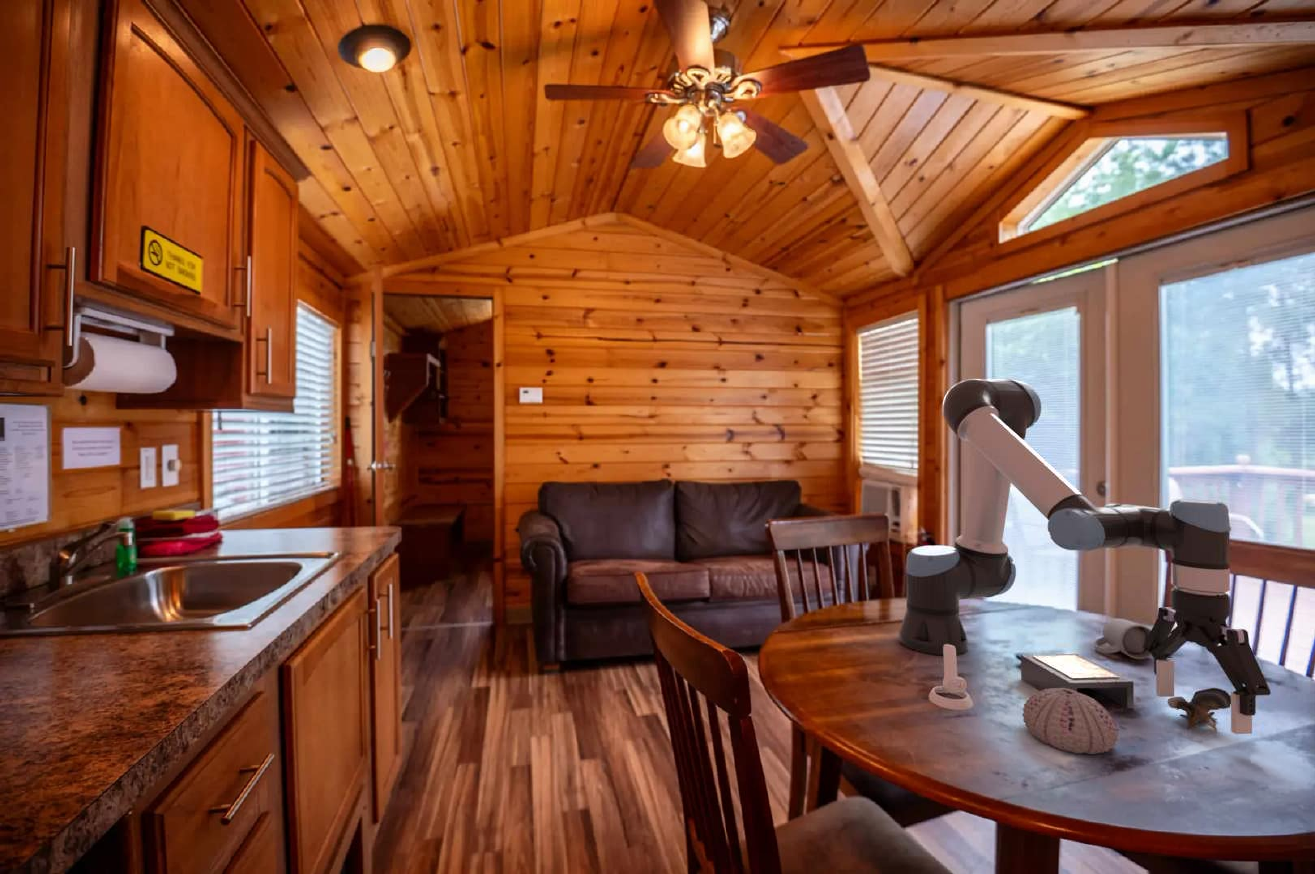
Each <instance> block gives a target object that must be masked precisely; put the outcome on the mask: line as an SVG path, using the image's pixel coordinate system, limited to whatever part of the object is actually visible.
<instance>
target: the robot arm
mask: <svg viewBox="0 0 1315 874" xmlns="http://www.w3.org/2000/svg"><path fill="white" fill-rule="evenodd" d="M1041 413H1042V402H1041V399H1040V396H1039V394H1038V392H1037V391H1036V390H1035V388H1033V386H1031V385H1029V383H1026V382H1024V381H1021V380H1014V379H1013V380H1012V379H979V378H970V379H965V380H962V381H959V382H957V383H955V384H954V385H953V386H952V387H950V389H949V390H947V392H946V394H945V396H944V398H943V401H942V414H943V417H944V420H945V423H946V424H947V425H948V427H949V428H950V430H952V432H953V433H954V434H955V435H956V436H957V437H958V438H959V439H960V440H961V441H964V442H970V443H971V444H972V446H974V453H973V460H972V465H971V474H970V481H969V488H968V495H967V502H966V511H965V516H964V517H965V518H964V526H963V533H962V534H961V535H959V536H957V537H956V538H955V541H954V546H949V545H944V544H943V545H942V544H937V545H922V546H918V547H914V548H912V549H910V550H909V551H908V553H907V554H906V564H905V576H906V577H905V581H906V584H905V585H906V592H905V593H906V610H905V613H904V616H903V619H902V622H901V625H900V627H899V631H898V641H899V643H900V642H901V643H902V644H903V645H902V644H901V643H900V644H901V645H902V646H904V645H905V646H907V647H908V648H907V647H906V648H907V649H910V650H912V649H915V650H918V651H917V652H919V651H921V652H920V653H923V652H924V653H923V654H928V653H929V655H935V654H937V655H936V656H943V646H944V645H945V644H949V645H953V646H954V647H955V648H956V656H957V655H961V654H965V653H967V651H968V650H969V649H968V647H969V646H968V645H969V643H968V637H967V634H966V631H965V629H964V626H963V623H962V620H961V617H960V600H968V599H978V598H979V599H980V598H986V599H987V598H993V597H995V596H999V595H1003V594H1005V593H1007V592H1008V591H1009V590H1010V589H1011V588H1012V586H1013V585H1014V583H1015V580H1016V576H1017V569H1016V564H1014V563H1013V561H1014V559H1013V558H1012V556H1011V555H1010V554H1009V547H1008V546H1007V545H1006V544H1005V543H1004V541H1003V539H1004V532H1005V524H1006V518H1007V511H1008V504H1009V497H1010V491H1011V484H1012V485H1013V486H1014V487H1015V488H1016V489H1017V491H1019V492H1020V493H1021V495H1023V496H1024V497H1025V498H1026V500H1028V501H1029V503H1031V505H1033V506H1034V507H1035V508H1036V510H1037V511H1038V512H1040V514H1041V515H1043V516H1044V518H1046V519H1047V532H1049V536H1050V540H1051V541H1052V542H1054V544H1055V545H1057V546H1058V547H1060V548H1062V549H1064V550H1067V551H1078V552H1079V551H1080V552H1081V551H1083V552H1090V551H1095V550H1102V549H1103V550H1104V549H1117V548H1119V549H1120V548H1131V547H1132V548H1133V547H1143V548H1144V547H1145V548H1148V549H1149V548H1150V549H1156V550H1157V549H1158V550H1163V551H1170V561H1171V562H1170V584H1171V585H1172V586H1174V587H1172V588H1171V589H1170V602H1171V603H1170V605H1171V606H1170V607H1168V606H1167V607H1165V606H1163V607H1162V606H1160V607H1158V609H1157V616H1156V617H1157V618H1156V620H1155V622H1154V624H1153V626H1152V627H1151V629H1150V630H1151V632H1150V634H1149V636H1148V638H1147V639H1146V641H1145V643H1144V645H1143V649H1144V650H1145V651H1149V652H1150V653H1151V654H1152V655H1151V657H1153V673H1154V675H1155V677H1156V679H1155V680H1156V681H1155V682H1156V688H1155V689H1156V690H1155V691H1156V696H1158V697H1161V698H1164V697H1165V698H1167V697H1169V698H1173V697H1175V660H1172V659H1173V658H1174V657H1173V655H1174V654H1175V653H1176V652H1177V651H1178V650H1179V649H1181V648H1182V647H1183V646H1184V645H1185V644H1186V643H1187V642H1188V643H1195V644H1197V645H1198V646H1200V647H1203V648H1206V650H1207V652H1209V653H1210V654H1212V655H1213V656H1214V658H1215V660H1216V661H1217V663H1218V665H1219V666H1220V667H1221V669H1222V671H1223V672H1224V674H1225V675H1226V677H1227V679H1228V680H1229V681H1230V683H1231V684H1232V686H1233V688H1234V689H1235V690H1233V691H1230V696H1231V704H1230V732H1231V733H1232V734H1235V735H1244V734H1245V735H1251V734H1253V716H1255V715H1256V709H1257V708H1256V706H1257V705H1256V702H1257V701H1256V700H1257V699H1256V698H1257V697H1258V696H1270V695H1271V690H1270V687H1269V685H1268V683H1267V680H1266V678H1265V675H1264V673H1263V671H1262V669H1261V667H1260V665H1259V663H1258V661H1257V660H1258V659H1256V655H1255V654H1254V651H1253V649H1252V647H1251V645H1250V639H1249V632H1248V630H1246V629H1245V628H1230V627H1228V625H1227V619H1228V618H1229V617H1230V616H1231V596H1230V595H1229V594H1228V593H1227V592H1230V590H1231V588H1230V586H1231V585H1230V582H1231V581H1230V579H1231V575H1230V574H1231V573H1230V572H1231V568H1230V567H1231V566H1230V537H1231V536H1230V532H1231V531H1232V528H1231V523H1230V515H1229V514H1230V513H1229V512H1230V511H1229V508H1228V506H1227V505H1226V504H1225V503H1223V502H1221V501H1217V500H1212V499H1211V500H1209V499H1195V498H1179V499H1178V498H1176V499H1174V500H1172V501H1171V502H1170V506H1169V508H1162V507H1153V506H1144V505H1135V504H1131V503H1107V504H1105V505H1103V506H1099V507H1098V506H1097V505H1095V504H1094V503H1093V502H1091V500H1089V499H1088V498H1087V497H1086V496H1084V495H1083V494H1082V493H1081V492H1080V491H1079V490H1078V489H1077V488H1076V487H1074V486H1073V485H1072V484H1071V483H1070V482H1069V481H1068V479H1066V478H1065V477H1064V476H1063V475H1061V474H1060V472H1059V471H1057V470H1056V469H1055V468H1054V467H1053V466H1052V465H1050V464H1049V462H1047V461H1046V460H1045V459H1044V457H1042V456H1041V455H1040V454H1038V452H1037V451H1035V450H1034V449H1033V448H1032V447H1031V446H1030V445H1029V444H1028V443H1027V442H1026V441H1025V440H1026V433H1027V429H1029V428H1031V427H1033V426H1034V425H1035V423H1037V422H1038V420H1039V418H1040V417H1041ZM1175 624H1176V626H1175ZM1174 626H1175V627H1174ZM905 646H904V647H905ZM915 650H914V651H915Z"/></svg>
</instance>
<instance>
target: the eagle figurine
mask: <svg viewBox="0 0 1315 874" xmlns="http://www.w3.org/2000/svg"><path fill="white" fill-rule="evenodd" d="M1167 704H1168V706H1169V707H1170V708H1172V709H1175V710H1176V711H1178V710H1182V711H1184V712H1185V713H1186V715H1185V714H1183V713H1182V714H1181V713H1180V714H1179V716H1180V717H1182V718H1185V719H1186V720H1187V726H1186V728H1187V730H1189V731H1190V730H1191V729H1193V728H1194V727H1196V725H1197V724H1198V722H1199V721H1200V722H1203V723H1205V724H1207V725H1208V726H1210V727H1211V728H1212V729H1214V730H1215V731H1216V732H1217V731H1218V728H1217V725H1216V723H1215V722H1214V721H1213V720H1215V721H1218V719H1217V718H1214V717H1213V716H1214V715H1215V713H1216V712H1215V711H1218V710H1225V709H1229V708H1231V694H1229V692H1228V691H1226V690H1223V689H1221V688H1218V687H1210V688H1207V689H1201V690H1198V691H1195V692H1194V694H1193V696H1192V698H1191V699H1190V701H1187V700H1186V699H1185V698H1184V697H1182V696H1173V697H1169V698H1168V699H1167Z"/></svg>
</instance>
